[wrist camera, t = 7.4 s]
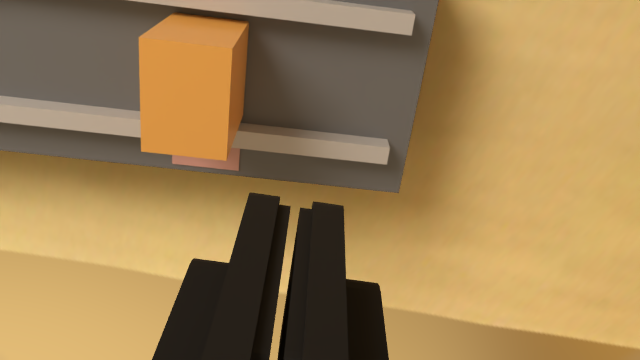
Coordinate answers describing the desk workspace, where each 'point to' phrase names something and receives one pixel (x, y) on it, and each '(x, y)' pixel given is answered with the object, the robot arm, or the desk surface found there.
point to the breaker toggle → (192, 85)
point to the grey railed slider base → (260, 84)
